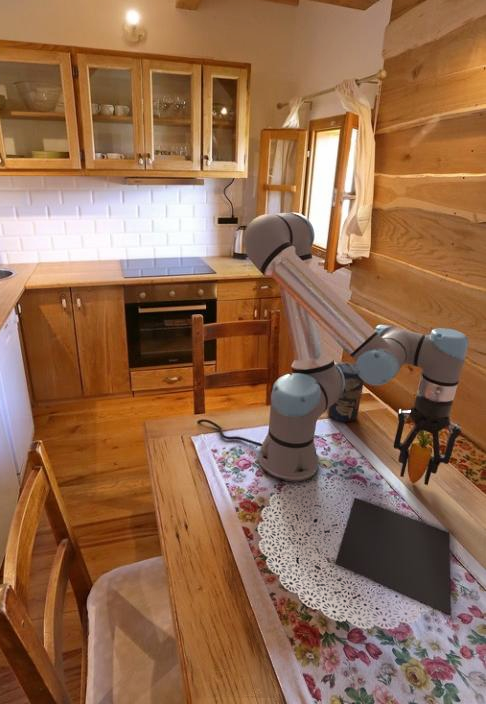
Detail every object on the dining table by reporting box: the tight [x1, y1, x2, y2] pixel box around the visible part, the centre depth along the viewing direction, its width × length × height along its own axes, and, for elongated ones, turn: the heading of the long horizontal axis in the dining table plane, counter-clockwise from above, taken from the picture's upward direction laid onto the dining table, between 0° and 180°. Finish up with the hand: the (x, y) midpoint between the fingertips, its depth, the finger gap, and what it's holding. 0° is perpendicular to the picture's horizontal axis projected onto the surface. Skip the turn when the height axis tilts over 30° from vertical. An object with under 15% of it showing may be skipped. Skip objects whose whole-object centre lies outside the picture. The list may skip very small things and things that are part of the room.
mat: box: [334, 497, 451, 616], centre depth 83 cm, size 20×20×1 cm
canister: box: [326, 361, 365, 422], centre depth 127 cm, size 10×10×18 cm
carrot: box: [407, 430, 433, 484], centre depth 99 cm, size 5×5×15 cm
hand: (414, 477), depth 101 cm, fingers closed on carrot, 5 cm apart
